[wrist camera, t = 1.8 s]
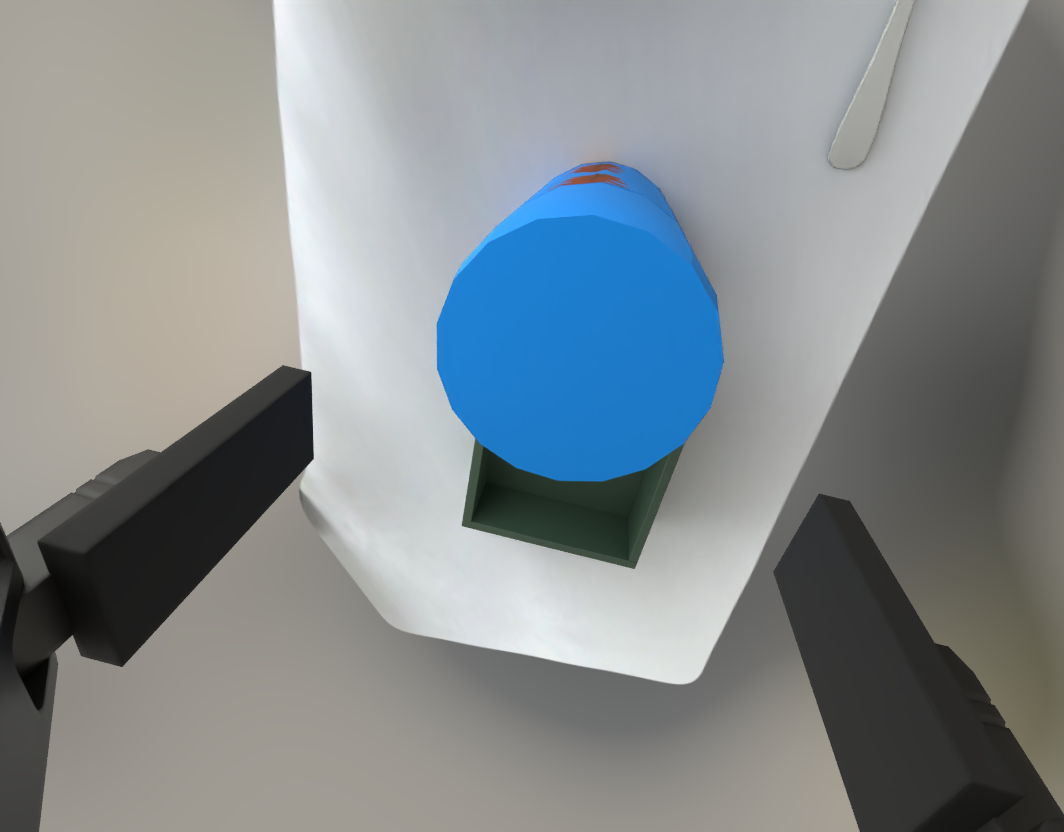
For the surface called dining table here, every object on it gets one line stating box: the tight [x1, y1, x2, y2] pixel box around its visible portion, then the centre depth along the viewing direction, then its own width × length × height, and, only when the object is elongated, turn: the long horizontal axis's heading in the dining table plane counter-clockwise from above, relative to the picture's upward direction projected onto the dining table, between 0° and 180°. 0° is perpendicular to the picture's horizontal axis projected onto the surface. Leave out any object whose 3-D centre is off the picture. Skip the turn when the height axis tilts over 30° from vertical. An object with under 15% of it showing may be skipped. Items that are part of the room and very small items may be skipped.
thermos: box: [437, 162, 724, 481], centre depth 30 cm, size 11×11×25 cm
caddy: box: [462, 438, 685, 569], centre depth 47 cm, size 16×16×7 cm
